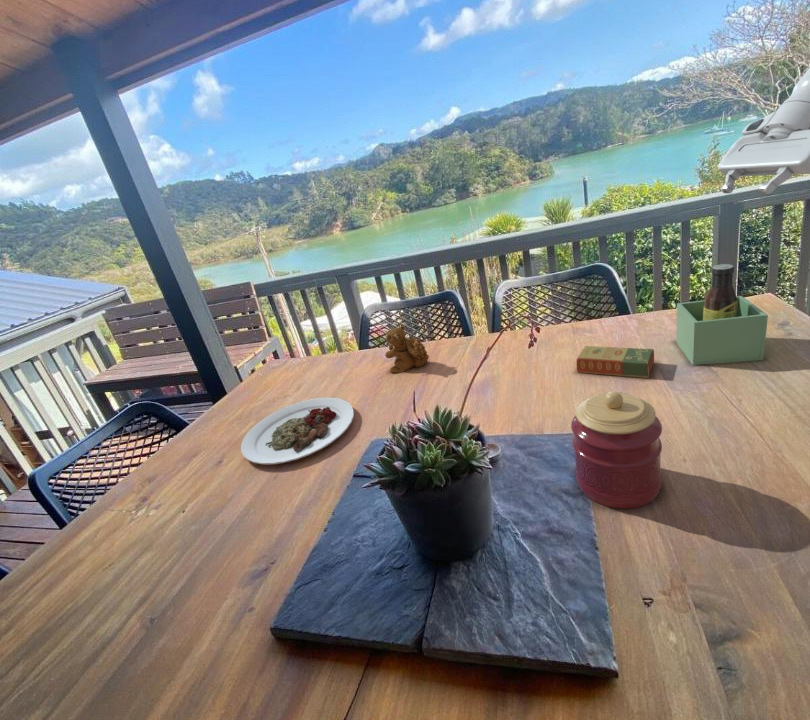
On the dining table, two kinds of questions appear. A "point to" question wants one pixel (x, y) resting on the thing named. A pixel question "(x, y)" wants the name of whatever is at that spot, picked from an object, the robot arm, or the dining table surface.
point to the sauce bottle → (720, 294)
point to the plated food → (297, 430)
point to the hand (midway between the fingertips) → (743, 192)
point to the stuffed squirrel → (405, 351)
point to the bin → (721, 334)
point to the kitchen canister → (617, 450)
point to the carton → (616, 361)
